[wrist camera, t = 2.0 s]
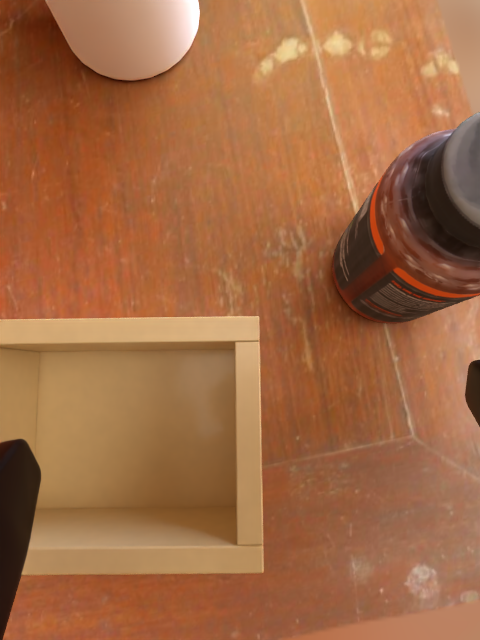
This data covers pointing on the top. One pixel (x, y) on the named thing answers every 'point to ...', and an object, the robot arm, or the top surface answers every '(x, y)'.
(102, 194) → the top surface
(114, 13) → the mug
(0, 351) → the shallow tan tray box
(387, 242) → the supplement bottle
